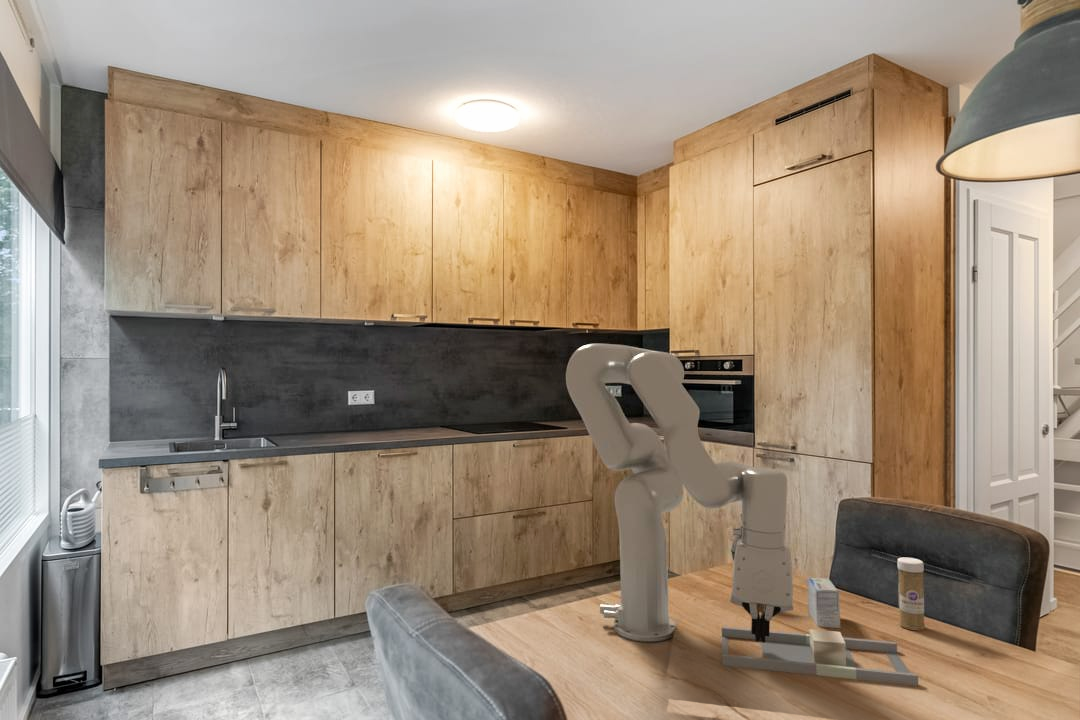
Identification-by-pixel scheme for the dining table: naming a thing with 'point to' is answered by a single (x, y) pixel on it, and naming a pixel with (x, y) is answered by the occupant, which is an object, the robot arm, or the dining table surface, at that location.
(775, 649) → the track
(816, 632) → the cream block
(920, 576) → the sprinkles bottle
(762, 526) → the robot arm
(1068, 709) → the dining table surface
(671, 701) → the dining table surface
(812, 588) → the medicine box
